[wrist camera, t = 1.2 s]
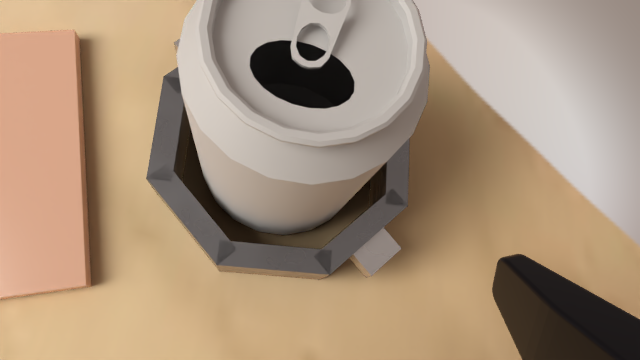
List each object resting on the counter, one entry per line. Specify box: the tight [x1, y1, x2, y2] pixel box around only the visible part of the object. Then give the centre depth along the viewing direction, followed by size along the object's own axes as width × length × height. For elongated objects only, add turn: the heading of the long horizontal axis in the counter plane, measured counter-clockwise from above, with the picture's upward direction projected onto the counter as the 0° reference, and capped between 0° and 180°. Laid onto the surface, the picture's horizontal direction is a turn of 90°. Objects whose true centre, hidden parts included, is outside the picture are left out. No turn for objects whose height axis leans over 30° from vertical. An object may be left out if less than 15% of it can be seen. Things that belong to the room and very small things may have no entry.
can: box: [176, 0, 430, 235], centre depth 19 cm, size 8×8×12 cm
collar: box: [146, 39, 409, 280], centre depth 23 cm, size 13×11×3 cm
